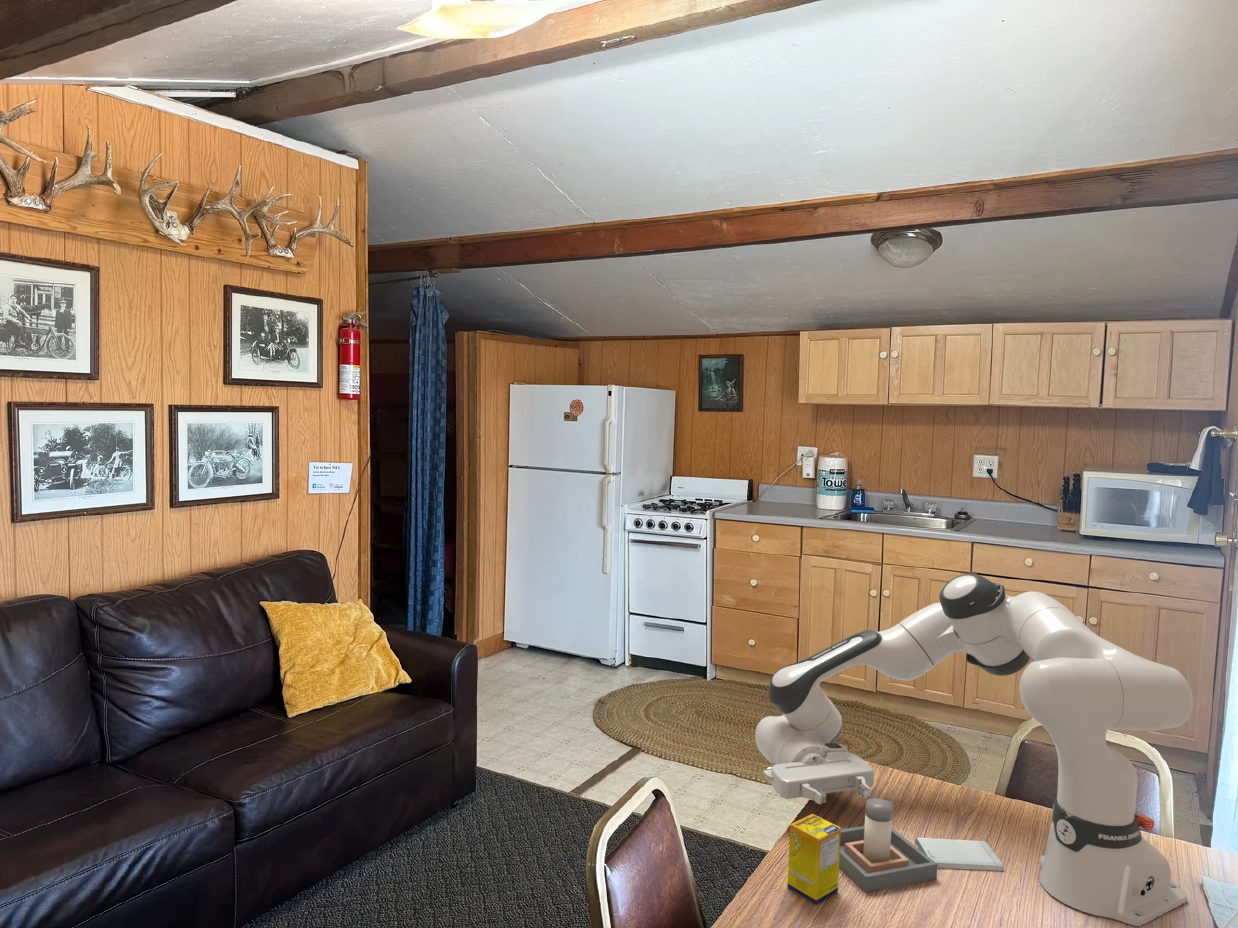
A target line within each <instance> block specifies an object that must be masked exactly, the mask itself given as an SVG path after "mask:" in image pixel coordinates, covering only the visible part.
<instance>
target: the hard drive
mask: <svg viewBox="0 0 1238 928" xmlns="http://www.w3.org/2000/svg"><path fill="white" fill-rule="evenodd" d="M914 843H915V844H916V847H917V848H918V849H919V850H921V851H922V852H923V853H924V854H926V855H927V856H928V857H929V858H931V859H932V860H933V861H934V862H936V863H937V864H938V865H937V869H954V870H955V869H957V870H958V869H959V870H972V871H973V870H976V871H998V872H999V871H1001V872H1003V871H1004V869H1005V867H1004V864H1003V862H1002V861H1001V860H1000V859H999V857H998V856H997V855H996V853H995V852H994V851H993V849H992V848H991V847H990V845H989V844H988V843H987V842H986V841H983V840H968V839H967V840H966V839H953V838H949V839H948V838H933V837H931V838H930V837H929V838H928V837H915V841H914Z"/></svg>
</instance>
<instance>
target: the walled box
mask: <svg viewBox="0 0 1238 928" xmlns="http://www.w3.org/2000/svg"><path fill="white" fill-rule="evenodd" d="M864 829H865V825H863V826H856V827H851V828H843V829H841V836H840V855H839V870H841V871H843V872H844V874H846V876H847V877H848V878H850V879H851V880H852V881H853V882H854V884H856V885H857V886H858V887H859V888H860V889H861V890H862V891H864V892H863V893H869V892H874V891H875V892H876V891H880V890H886V889H890V888H895V887H896V888H897V887H900V886H907V885H912V884H917V883H922V882H926V881H932V880H937V877H938V868H937V865H938V864H937V863H936V862H934V861H933V860H932V859H931V858H929V857H928V856H927V855H926V854H924V853H923V852H922V851H921V850H920V849H919V848H918V846H917V845H914V844H913V843H912V842H911V841H909V840H908V839H907V838H906V837H904V836H903V835H902V834H901V833H900V832H898V831H897V830H896V829H894V828H893V827H892V829H891V846H890V860H889V861H884V862H878V863H871V862H870V861H869V860H868V859H866V858H865V857H864V856H863V847H864Z"/></svg>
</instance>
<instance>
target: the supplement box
mask: <svg viewBox="0 0 1238 928" xmlns="http://www.w3.org/2000/svg"><path fill="white" fill-rule="evenodd" d="M789 826H790V828H789V844H788V845H789V847H788V848H789V849H788V868H787V869H788V870H787V889H789V890H790V891H792V892H794V893H796V895H797V894H798V896H800V897H802V898H804V899H806V900H807V901H808V902H810V903H812V904H814V905H818V904H819V903H821V902H823V901H824V900H826V899H828V898H830V897H831V896H832V895H834V894H836V893H838V891H839V877H840V876H839V875H840V874H839V872H840V868H839V855H840V836H841V830H842V828H841V826H839V825H836V824H834V823H832V822H830V821H828V820H826V819H824V818H822V817H821V816H818V815H816V814H814V813H811V814H809V815H807V816H804V817H803V818H800V819H799V820H796V821H795V822H792V823H790V824H789Z"/></svg>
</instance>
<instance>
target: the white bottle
mask: <svg viewBox="0 0 1238 928" xmlns="http://www.w3.org/2000/svg"><path fill="white" fill-rule="evenodd" d="M893 809H894V806H893V803H891V802H890V801H889V800H886V799H883V798H880V797H878V798H877V797H875V798H874V797H873V798H868V799H866V801H865V811H864V813H865V814H864V826H865V829H864V847H863V856H864V857H865V858H866V859H868V860H869V861H870V862H871V863H878V862H884V861H889V860H890V846H891V829H892V828H893V826H892V825H893Z"/></svg>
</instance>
